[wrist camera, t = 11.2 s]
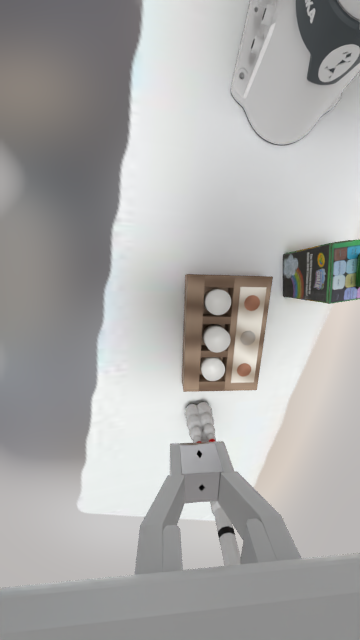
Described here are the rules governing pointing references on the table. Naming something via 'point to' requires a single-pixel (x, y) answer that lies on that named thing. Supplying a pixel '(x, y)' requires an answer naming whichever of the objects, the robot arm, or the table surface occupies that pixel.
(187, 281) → the board
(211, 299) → the button
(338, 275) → the chalk box
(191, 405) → the rocket model
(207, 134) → the table surface
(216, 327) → the middle button
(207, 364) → the button
